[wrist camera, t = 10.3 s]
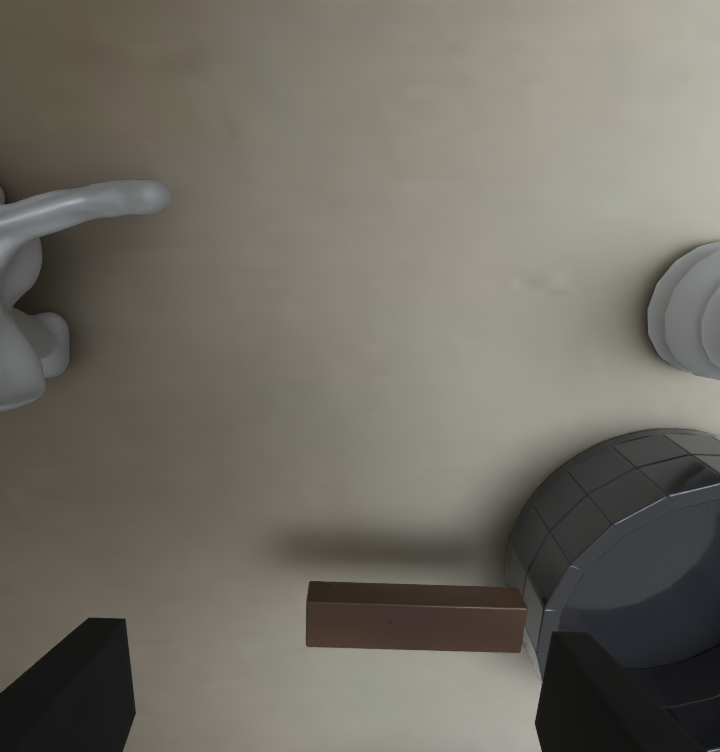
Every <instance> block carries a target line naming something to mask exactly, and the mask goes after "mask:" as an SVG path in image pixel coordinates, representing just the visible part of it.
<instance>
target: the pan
mask: <svg viewBox="0 0 720 752" xmlns="http://www.w3.org/2000/svg"><path fill="white" fill-rule="evenodd" d="M505 580H506V587H516V588H519V590H520V592H521V595H522V597H523V599H524V602H525V604H526V606H527V615H526V621H525V627H524V633H523V640H524V642H525V645H526V647H527V650H528V652H529V655H530V657H531V660H532V662H533V665H534V667H535V670H536V672H537V675H538V677H539V680H540V682H541V685H542V682H543V677H544V671H545V666H546V661H547V655H548V650H549V645H550V639H551V634H552V631H558V632H588V633H589V634H590V635H591V636H592V637H593V638H594V639H595V640H596V641H597V642H598V643H599V644H600V645H601V646H602V647H603V648H604V649H605V650H606V651H607V652H608V653H609V654H610V655H611V656H612V657H613V658H614V659H615V660H616V661H617V662H618V663H619V664H620V665H621V666H622V667H623V668H624V669H625V670H626V671H627V672H628V673H629V674H630V675H631V676H632V677H633V678H634V679H635V680H636V681H637V682H638V683H639V684H640V685H641V686H642V687H643V688H644V689H645V690H646V691H647V692H648V693H649V694H650V695H651V696H652V697H653V698H654V699H655V700H656V701H657V702H658V703H659V704H660V706H661V707H662V708H663V709H664V710H666V711H667V712H668V713H669V714H670V715H671V716H672V717H673V718H674V719H675V720H676V721H677V722H678V723H679V724H680V725H681V726H682V727H683V728H684V729H685V730H686V731H687V732H688V733H689V734H690V735H691V736H692V737H693V738H694V739H695V740H696V741H697V742H698V743H699V744H700V745H701V746H702V747H703V748H704V749H705V750H706V751H707V752H720V437H719V436H717V435H713V434H709V433H704V432H700V431H694V430H684V429H655V430H648V431H641V432H635V433H632V434H628V435H624V436H620V437H617V438H614V439H611V440H609V441H606V442H604V443H601V444H598V445H596V446H594V447H592V448H590V449H589V450H587V451H585V452H583V453H581V454H579V455H578V456H576V457H575V458H573V459H572V460H570V461H569V462H567V463H566V464H564V465H563V466H561V467H560V468H559V469H558V470H557V471H556V472H554V473H553V474H552V475H551V476H550V477H549V478H547V480H546V481H545V482H544V483H543V484H542V485H541V486H540V487H539V488H538V489H537V490H536V491H535V493H534V494H533V495H532V497H531V498H530V499H529V501H528V502H527V504H526V505H525V506H524V508H523V510H522V512H521V513H520V515H519V517H518V519H517V521H516V523H515V525H514V528H513V531H512V533H511V536H510V539H509V543H508V547H507V552H506V559H505Z"/></svg>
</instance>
